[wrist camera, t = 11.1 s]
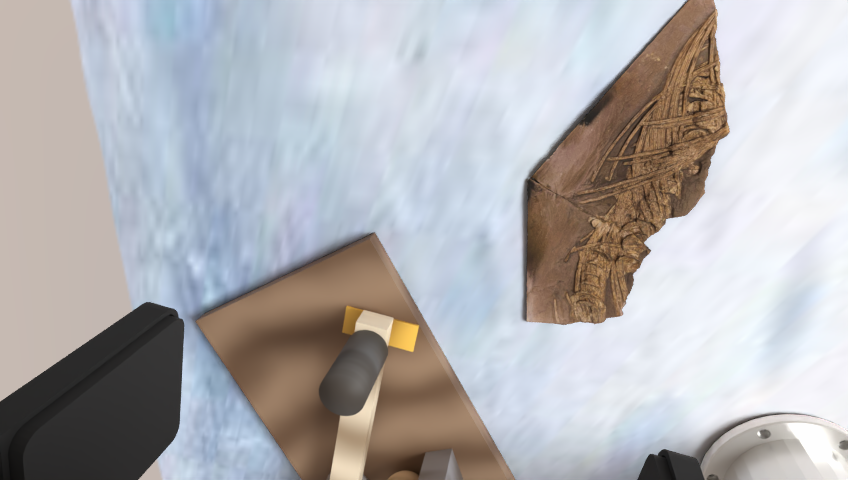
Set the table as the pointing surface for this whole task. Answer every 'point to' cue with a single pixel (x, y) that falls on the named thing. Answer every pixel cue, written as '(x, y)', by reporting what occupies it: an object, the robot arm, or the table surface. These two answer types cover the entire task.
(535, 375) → the table surface
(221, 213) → the table surface
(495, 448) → the press board
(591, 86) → the table surface
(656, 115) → the wooden fragment
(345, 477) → the lever
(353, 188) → the table surface
